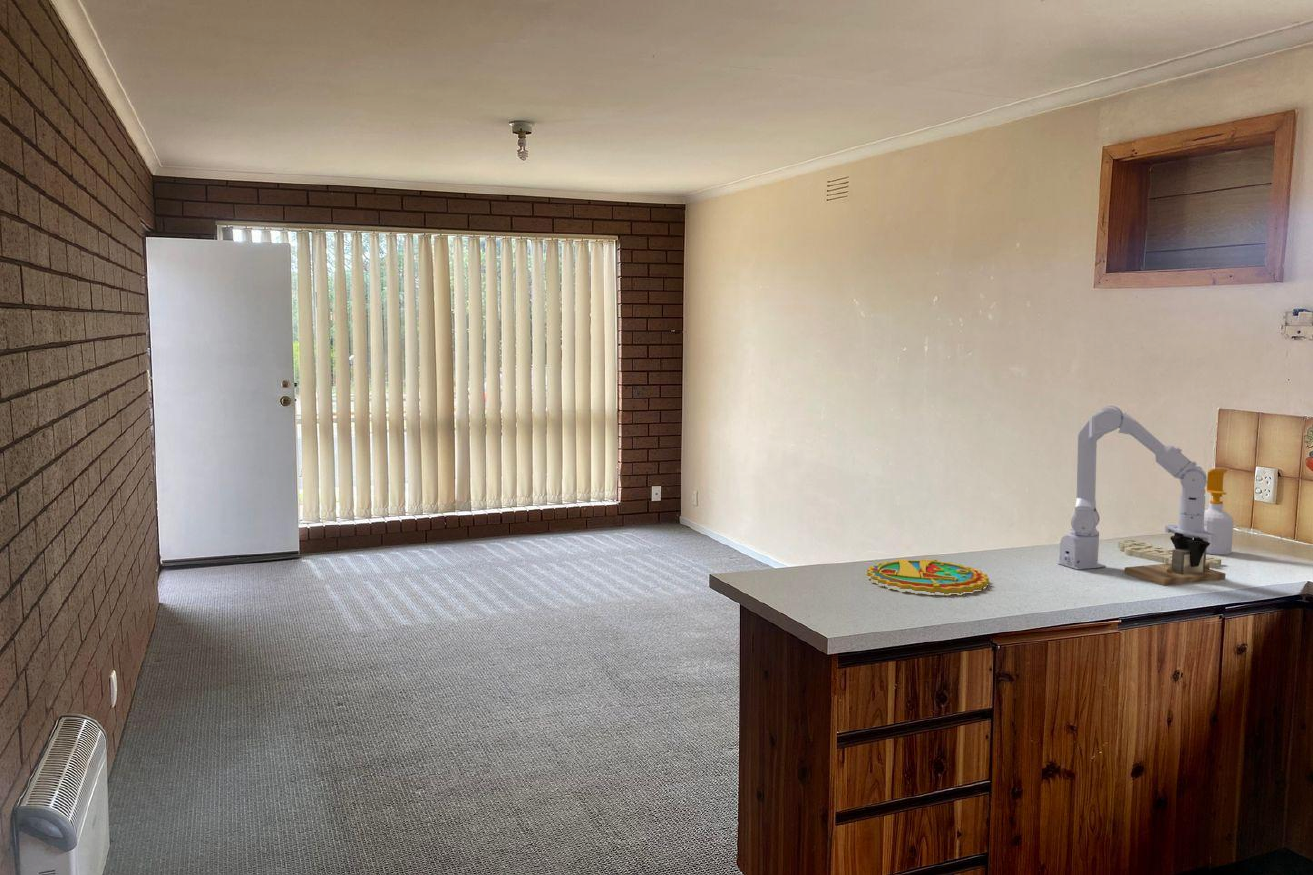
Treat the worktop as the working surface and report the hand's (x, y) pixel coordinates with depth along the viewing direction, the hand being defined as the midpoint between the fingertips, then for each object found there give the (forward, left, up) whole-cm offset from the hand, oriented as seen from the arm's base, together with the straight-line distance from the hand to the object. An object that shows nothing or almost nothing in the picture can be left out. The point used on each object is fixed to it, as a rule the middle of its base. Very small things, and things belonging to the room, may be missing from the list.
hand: (1188, 564), depth 248 cm
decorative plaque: (-67, +18, -4) cm, 69 cm away
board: (-3, +2, -3) cm, 5 cm away
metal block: (0, 0, -3) cm, 3 cm away
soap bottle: (+31, +21, -3) cm, 37 cm away
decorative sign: (+11, +20, -4) cm, 23 cm away
